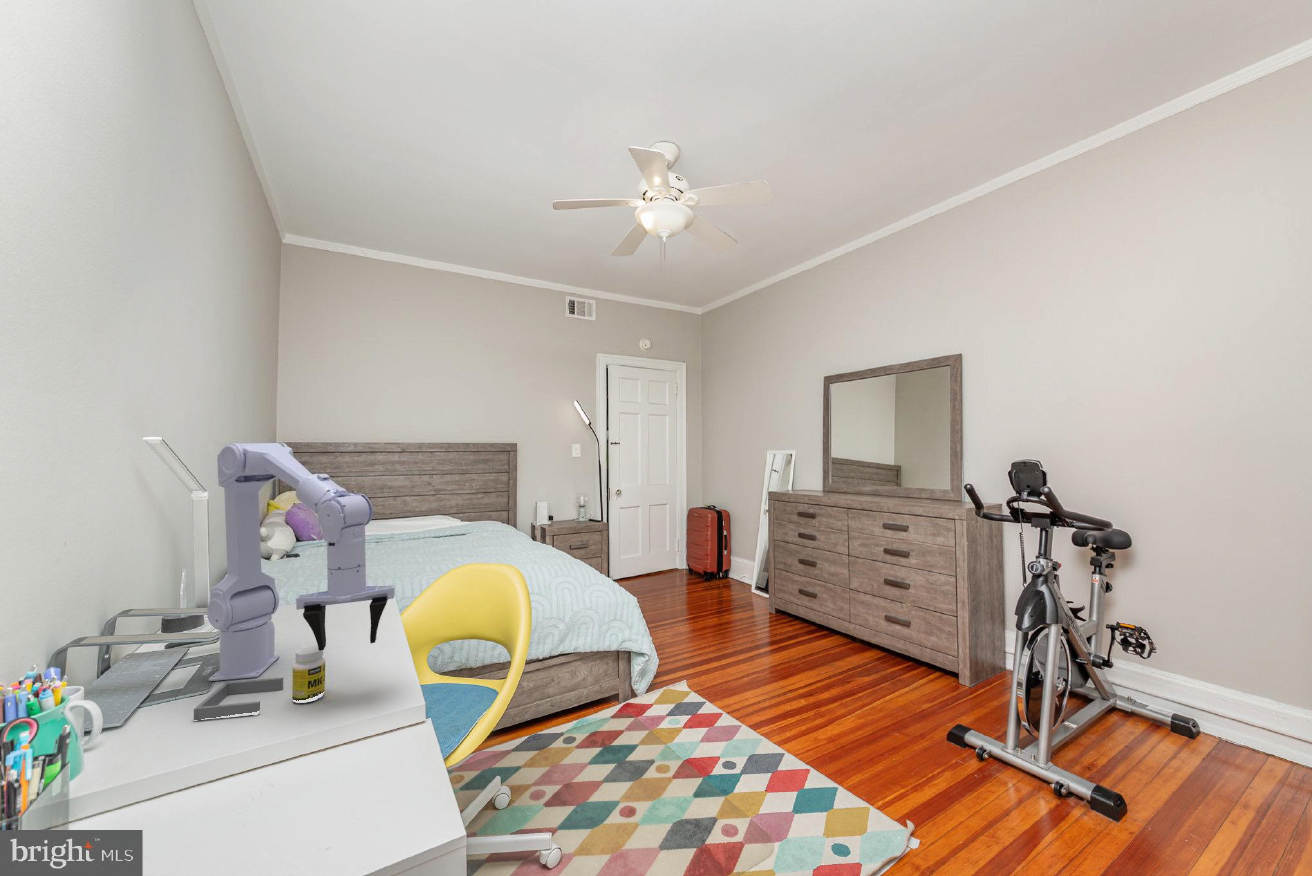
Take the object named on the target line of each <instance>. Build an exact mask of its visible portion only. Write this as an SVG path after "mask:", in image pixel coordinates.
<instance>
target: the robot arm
mask: <svg viewBox="0 0 1312 876" xmlns="http://www.w3.org/2000/svg"><path fill="white" fill-rule="evenodd" d="M217 479H218V486H219V487H222V488H223V489H224V490H223V493H224V513H225V517H224V518H225V519H224V521H225V540H226V541H225V543H226V566H227V567H226V570H227V571H226V572H227V575H226V576H225V577H224V578H222V580H220V581H219V582H218V583H217V584H215V585H214V586H213V587H212V588H211V589H210V595H209V601H208V604H207V609H206V616H207V620H208V622H209V623H210V625H211V627H213V628H214V629H215V630H218V631H219V670H217V671H216V672H215V673H213V675H211V676H210V677H208V681H209V682H215V681H216V682H217V681H223V680H224V681H225V680H227V681H228V680H240V679H250V678H252V679H253V678H258V677H259V676H261V674H263V673H264V672H265V671H266V670H267V669H268V668H269V667H270V666H271V665H272V664H274V663H275V662H276V661H277V660H278V659H279V658H280V655H281V654H279V653H278V654H276V653H275V650H276V649H275V646H276V645H275V644H276V643H275V636H276V635H275V634H276V631H275V628H276V627H275V624H274V622H273V621H272V617H273V615H274V614H275V613H276V612H277V610H278V609H279V605H280V596H279V592H278V591H277V590H278V589H277V588H276V583H275V580H276V579H275V578H274V577H273V576H271V575H269V574H267V573H265V572H264V571H262V556H261V555H262V552H261V551H262V548H261V526H260V525H261V523H260V521H261V520H260V500H259V499H260V498H259V495H260V494H259V493H260V490H261V489H263V488H264V487H265V485H266V484H269V483H271V482H273V481H274V480H276V479H279V480H280V481H282V482H284V483H285V484H287V485H289V486H290V487H292V488H294V489H295V497H296V499H297V500H298V501H299V502H301V504H303V505H304V506H305V507H307V508H308V509H310V510H311V511H312V512H314V513H315V514H316V515H317V521H318V524H319V526H320V528H321V530H322V538H323V539H324V542H326V553H327V554H326V560H327V561H326V563H327V564H326V565H327V572H326V574H327V590H325V591H317V592H312V593H308V594H307V593H305V594H299V595H298V596H297V597H296V599H295V600H296V602H295V603H296V607H295V608H296V610H297V611H300V610H303V613H302V616H303V617H302V618H303V619H304V620H305V621H306V623H307V624H308V626H309V627H310V629H311V631H312V633H313V636H314V637H315V641H316V644H317V646H318V649H319V651H321V650H323V651H324V650H325V648H326V647H327V637H326V636H327V635H326V633H327V632H326V610H327V609H326V607H327V606H330V605H332V606H333V605H338V604H348V603H356V602H359V603H360V602H365V601H370V603H369V615H370V631H369V632H370V634H369V642H370V644H375V643H376V640H377V635H378V634H377V633H378V628H379V624H380V620H381V617H382V615H383V613H384V610H385V607H386V606H387V603H388V600H392V599H394V598H395V589H396V588H395V585H394V584H392V585H391V584H390V585H369V586H368V585H367V570H366V568H367V567H366V566H367V564H366V562H367V561H366V526H368V525H369V524H370V522H371V521H372V519H373V513H374V512H373V511H374V510H373V504H372V502H371V500H370V499H369V498H368V497H367V496H366V495H365V494H364V493H355V494H354V493H350V492H348V490H347V489H346V488H345V487H341V486H340V485H339V484H337V483H336V482H334V481H333V480H332V479H331V476H330V475H329V474H327V473H315V474H312V472H311V471H309V470H308V469H307V468H306V467H305V466H304V465H303V464H301V462H299V461H298V460H297V459H296V458H295V457H294V451H293V449H292V447H289V446H288V445H287V443H285V442H281V441H280V442H279V441H277V442H261V443H260V442H258V443H255V442H254V443H246V442H245V443H237V442H230V443H229V442H228V443H226V444H225V445H224V446H223V448H222V449H221V450H220V452H219V453H218V455H217Z"/></svg>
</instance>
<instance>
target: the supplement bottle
mask: <svg viewBox="0 0 1312 876" xmlns="http://www.w3.org/2000/svg"><path fill="white" fill-rule="evenodd" d="M323 656H324V650H321V651H319V649H318V645H308V646H304V647H302V648H299V649H297V650H296V651H295V658H294V659H295V662H294V663H293V665H292V686H291V687H292V693H291V695H292V698H291V699H293V700H296V701H297V700H298V701H299V700H306V699H309V698H313V697H315V696H318V695H319V694H321V693H323V692H324V691H326V689H325V688H326V658H325V657H323Z"/></svg>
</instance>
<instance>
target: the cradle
mask: <svg viewBox="0 0 1312 876" xmlns="http://www.w3.org/2000/svg"><path fill="white" fill-rule="evenodd" d="M277 690H278V691H283V690H284V677H273V678H271V677H270V678H263V679H250V680H248V679H247V680H238V681H226V682H224V683H223V684H222V685H221V686H220V687H218V688H217V689H216V690H215V691H214V692H212V693H211V694H210V695H209V696H208V697H206V698H205V699H204V700H203V701H202V702H200V703H199V704H198V705H197V706H196V707H195V708H193V721H194V720H201V719H205V718H216V717H221V716H228V715H229V716H230V715H235V714H243V713H252V712H257V711H259V710H260V711H261V701H260V700H258V701H249V702H237V703H227V704H219V703H220V702H222V701H223V700H224V699H225V698H226V697H227V696H231V695H233V696H234V695H240V694H241V695H242V694H243V695H244V694H251V693H253V694H254V693H264V691H265V693H267V692H274V691H275V692H276V691H277ZM266 691H267V692H266Z"/></svg>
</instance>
